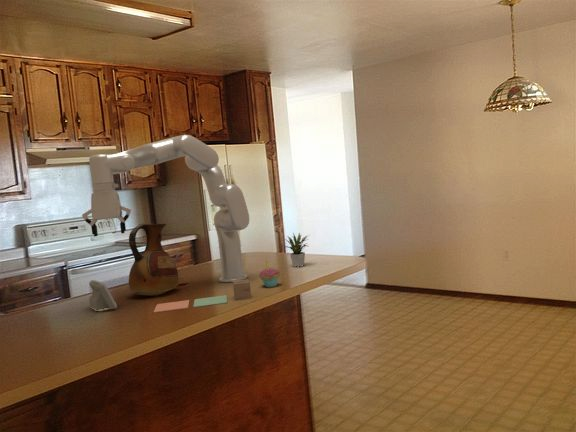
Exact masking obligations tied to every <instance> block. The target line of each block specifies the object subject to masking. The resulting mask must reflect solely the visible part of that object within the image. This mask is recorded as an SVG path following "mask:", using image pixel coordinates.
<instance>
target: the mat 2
mask: <svg viewBox="0 0 576 432" xmlns="http://www.w3.org/2000/svg"><path fill="white" fill-rule="evenodd" d="M227 303H228V298H227V295H226V294H225V295H217V296H211V297H203V298H196V299H194V301H193V308H199V307H200V308H201V307H207V306H209V307H210V306H216V305H222V304H227Z"/></svg>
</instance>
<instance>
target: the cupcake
mask: <svg viewBox="0 0 576 432" xmlns="http://www.w3.org/2000/svg"><path fill="white" fill-rule="evenodd" d="M265 263H266V268H264V269H262V270H261V271H260V272H259V274H258V278H259V279H260V280H261V281H262V283H263V285H264V287H265V288H273V287H276V286H277V284H278V280H279V278H280V276H281V273H280V271H279V270H278V269H275V268H272V267H269V262H268V258H267V257H265Z"/></svg>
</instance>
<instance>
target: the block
mask: <svg viewBox="0 0 576 432" xmlns="http://www.w3.org/2000/svg"><path fill="white" fill-rule="evenodd" d="M232 285H233V286H232V288H233V295H234V300H235V301H239V300H248V299H252V293H251V281H250V279H247V278H246V279H244V280H239V281H233V282H232Z"/></svg>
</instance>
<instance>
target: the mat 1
mask: <svg viewBox="0 0 576 432" xmlns="http://www.w3.org/2000/svg"><path fill="white" fill-rule="evenodd" d="M189 304H190V299H188V300H187V299H185V300H180V301H171V302H164V303H157V304H156V306H155V308H154V310H153V314H155V313H161V312H162V313H163V312H168V311H170V312H171V311H177V310H178V311H179V310H185V309H189Z"/></svg>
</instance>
